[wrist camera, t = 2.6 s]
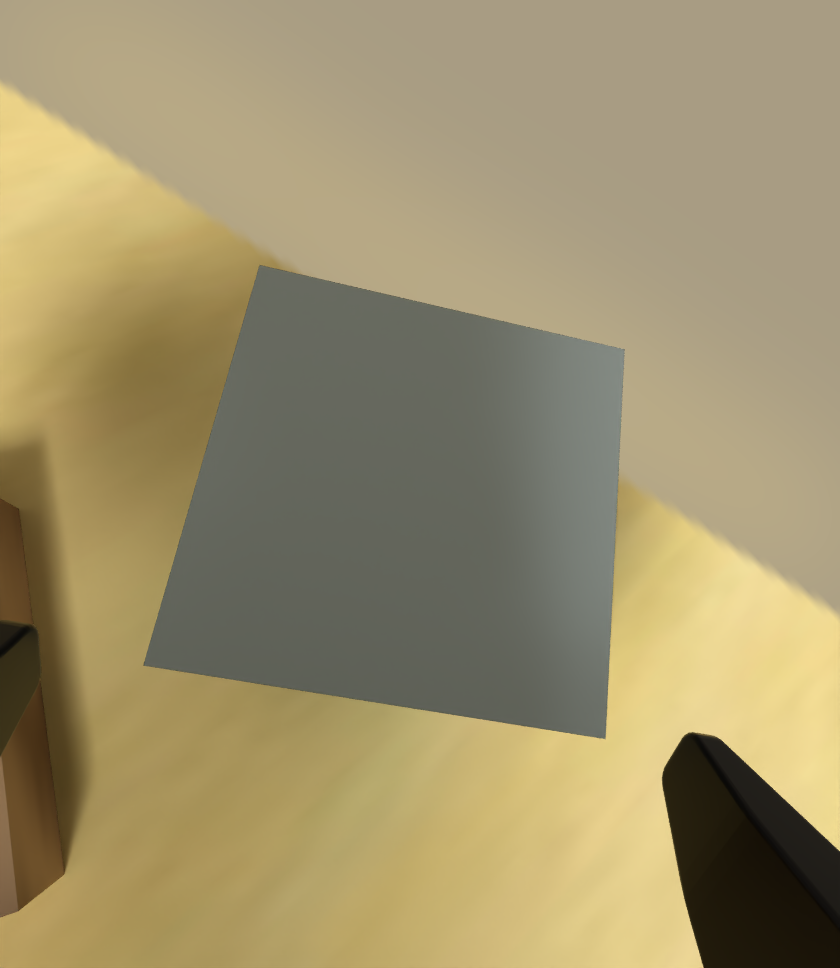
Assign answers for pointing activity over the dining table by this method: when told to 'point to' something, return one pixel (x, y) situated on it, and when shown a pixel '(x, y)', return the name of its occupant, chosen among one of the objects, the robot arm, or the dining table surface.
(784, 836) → the robot arm
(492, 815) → the dining table surface
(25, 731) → the walnut block
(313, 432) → the slate block
